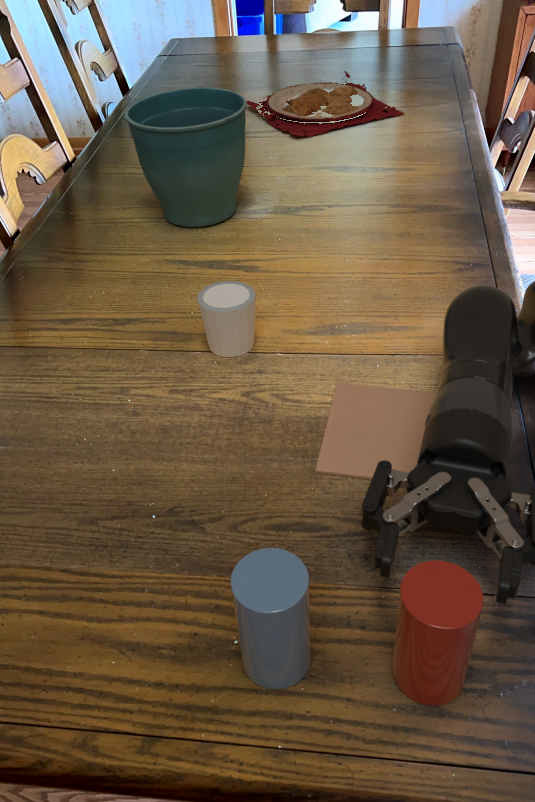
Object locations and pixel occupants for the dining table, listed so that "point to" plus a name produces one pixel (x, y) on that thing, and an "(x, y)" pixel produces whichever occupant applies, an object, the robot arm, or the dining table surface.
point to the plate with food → (313, 100)
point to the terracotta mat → (373, 430)
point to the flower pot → (191, 151)
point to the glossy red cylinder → (435, 631)
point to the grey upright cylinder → (273, 616)
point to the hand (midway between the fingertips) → (442, 583)
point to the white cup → (228, 317)
